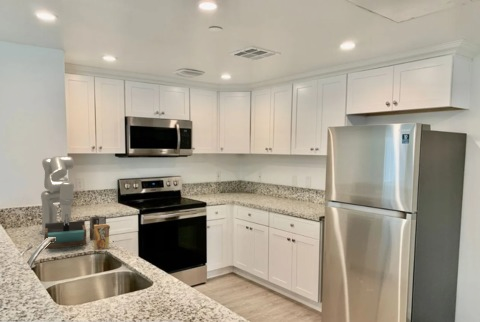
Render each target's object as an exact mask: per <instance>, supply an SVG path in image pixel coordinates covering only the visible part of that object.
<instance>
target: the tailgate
mask: <svg viewBox="0 0 480 322" xmlns="http://www.w3.org/2000/svg"><path fill="white" fill-rule="evenodd" d="M83 236H84V230H76V231H64V232H52V233H48V237H56V241H55V242H54V243H61V242H71V241H82V240H83Z"/></svg>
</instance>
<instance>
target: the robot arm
mask: <svg viewBox="0 0 480 322" xmlns="http://www.w3.org/2000/svg"><path fill="white" fill-rule="evenodd" d="M41 165H42V167H43V170H44V179H43V180H44V181H43V184H44V187H43V188H44V189H46V190H44V191H42V192H41V194H40V200H41V206H42V208H41V210H42V211H41V219H42V220H41V222H42V224H41V230H40V231H39V234H41V235H44V233H45V223H56V222H58V216H57V215H58V208H57V206H56V205H55V203H59V205H60V206H61V211H60V214H61V215H60V217H61V218H60V220H61V221H60V222H64V225H63V232H64V231H69V222H70V221H71V215H72V205H74V188H75V185H74V183H73V181H71V180H69V179H68V178H67V177H66V175H67V174H68V171H69V170H71V169H73V168H74V166H75V161H74V158H73V157H72V156H67V155H66V156H63V155H61V156H60V155H59V156H57V155H56V156H52V157H49V158H47V157H45V158H44V159H42V164H41Z"/></svg>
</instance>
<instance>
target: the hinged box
mask: <svg viewBox="0 0 480 322" xmlns="http://www.w3.org/2000/svg"><path fill="white" fill-rule="evenodd" d="M63 225H64V221H60V222H59V221H57V222H56V223H45V233H44V234H43V235H44V236H43V237H44V239H43V240H45V239H46V238H48V233H52V232H63ZM76 230H84V236H83V240H82V241H71V242H61V243H50V244H49V245H48V246H47V247H46V248H45V249H44V250H47V249H56V248H66V247H76V246H84V245H85V246H86V245H87V228H86V221H85V220H74V221H73V220H72V221H71V220H70V221H69V231H76Z"/></svg>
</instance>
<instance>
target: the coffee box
mask: <svg viewBox="0 0 480 322" xmlns="http://www.w3.org/2000/svg"><path fill="white" fill-rule="evenodd" d="M100 224H107V217H106V216H98V215H95V216H94V215H93V216H91V217H89V241H91V240H94V225H100Z"/></svg>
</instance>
